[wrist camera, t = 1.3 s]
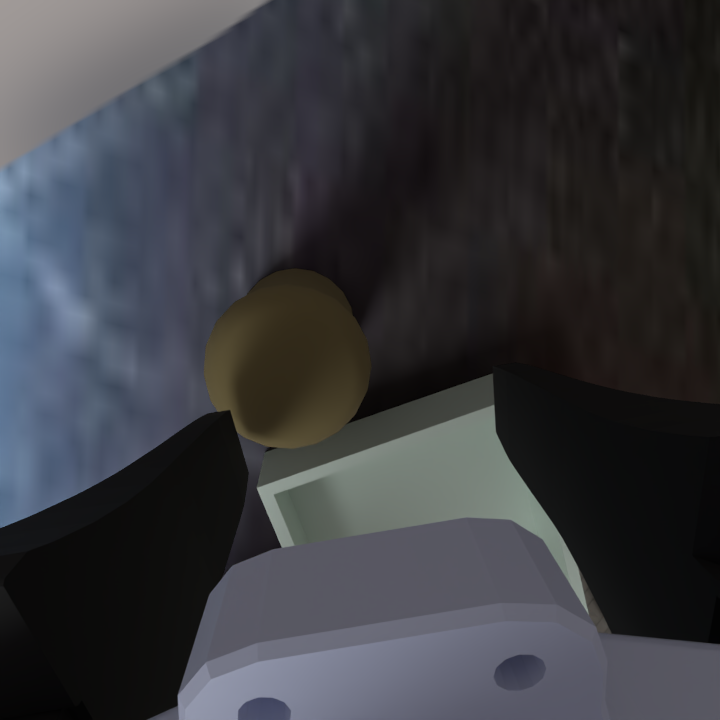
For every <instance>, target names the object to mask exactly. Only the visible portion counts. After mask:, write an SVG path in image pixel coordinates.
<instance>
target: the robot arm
mask: <svg viewBox="0 0 720 720" xmlns="http://www.w3.org/2000/svg"><path fill="white" fill-rule="evenodd" d="M492 368H493V388H494V407H495V427H496V434H497V436H498V438H499V440H500V442H501V444H502V446H503V449H504V451H505V452H506V454H507V456H508V458H509V460H510V462H511V463H512V465H513V466H514V468H515V469H516V471H517V472H518V474H519V475H520V477H521V478H522V480H523V481H524V483H525V484H526V485H527V487H528V488H529V490H530V491H531V493H532V494H533V495H534V497H535V498H536V500H537V501H538V503H539V504H540V505H541V507H542V508H543V510H544V511H545V513H546V514H547V516H548V517H549V518H550V520H551V521H552V523H553V524H554V526H555V527H556V529H557V531H558V532H559V534H560V535H561V537H562V539H563V540H564V542H565V544H566V546H567V548H568V550H569V551H570V553H571V555H572V557H573V559H574V561H575V562H576V564H577V566H578V568H579V570H580V572H581V573H582V575H583V577H584V579H585V581H586V583H587V585H588V587H589V589H590V591H591V593H592V595H593V597H594V599H595V601H596V603H597V605H598V607H599V608H600V610H601V612H602V614H603V616H604V619H605V621H606V623H607V625H608V627H609V629H610V631H611V633H612V634H609V633H599V632H598V631H597V628H596V626H595V624H594V623H593V621H592V620H591V618H590V616H589V615H588V613H587V611H586V610H585V608H584V606H583V605H582V603H581V601H580V600H579V598H578V597H577V595H576V593H575V592H574V590H573V588H572V587H571V585H570V583H569V582H568V580H567V578H566V577H565V575H564V574H563V572H562V570H561V569H560V567H559V565H558V564H557V562H556V560H555V559H554V557H553V555H552V554H551V552H550V551H549V549H548V547H547V546H546V544H545V542H544V541H543V539H541V538H539V537H538V536H536V535H535V534H533V533H531V532H530V531H528V530H527V529H525V528H523V527H522V526H520V525H518V524H517V523H515V522H514V521H512V520H508V519H488V518H468V517H466V518H460V519H453V520H447V521H441V522H435V523H429V524H423V525H417V526H411V527H405V528H399V529H393V530H387V531H381V532H375V533H369V534H363V535H357V536H350V537H344V538H338V539H332V540H326V541H320V542H314V543H308V544H302V545H296V546H290V547H284V548H278V549H273V550H270V551H268V552H265V553H263V554H260V555H258V556H255V557H252V558H250V559H247V560H245V561H242V562H240V563H237V564H235V565H232V567H231V568H230V569H229V570H228V572H227V573H226V574H225V575H224V577H223V578H222V576H223V573H224V570H225V566H226V563H227V560H228V557H229V553H230V550H231V547H232V544H233V540H234V537H235V534H236V531H237V527H238V524H239V521H240V517H241V514H242V510H243V507H244V502H245V496H246V490H247V482H248V474H249V472H248V469H247V466H246V462H245V459H244V455H243V452H242V448H241V445H240V442H239V438H238V435H237V431H236V428H235V425H234V421H233V418H232V414H231V411H230V410H226V411H220V412H214V413H208V414H206V415H204V416H202V417H200V418H198V419H197V420H195V421H194V422H192V423H191V424H189V425H188V426H186V427H185V428H183V429H182V430H180V431H179V432H177V433H176V434H175V435H173V436H172V437H170V438H169V439H168V440H166V441H165V442H163V443H162V444H160V445H159V446H158V447H156V448H155V449H153V450H152V451H150V452H148V453H147V454H145V455H144V456H142V457H141V458H139V459H138V460H136V461H135V462H133V463H132V464H130V465H129V466H127V467H125V468H124V469H122V470H121V471H119V472H117V473H116V474H114V475H112V476H110V477H109V478H107V479H105V480H103V481H102V482H100V483H98V484H96V485H94V486H92V487H91V488H89V489H87V490H85V491H83V492H81V493H79V494H77V495H75V496H73V497H71V498H69V499H67V500H64V501H62V502H60V503H58V504H56V505H54V506H51V507H49V508H47V509H45V510H43V511H41V512H39V513H36V514H34V515H32V516H30V517H27V518H25V519H22V520H20V521H17V522H15V523H12V524H10V525H8V526H5V527H2V528H0V720H720V404H710V403H700V402H690V401H680V400H672V399H665V398H658V397H652V396H646V395H641V394H635V393H629V392H624V391H620V390H615V389H611V388H607V387H603V386H599V385H595V384H591V383H587V382H584V381H580V380H577V379H573V378H570V377H567V376H563V375H560V374H557V373H553V372H550V371H547V370H544V369H540V368H537V367H533V366H530V365H526V364H521V363H510V364H504V365H498V366H492Z"/></svg>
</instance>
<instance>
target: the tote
mask: <svg viewBox="0 0 720 720" xmlns="http://www.w3.org/2000/svg"><path fill="white" fill-rule="evenodd" d="M257 490H258V492H259V495H260V497H261V499H262V502H263V504H264V506H265V509H266V511H267V514H268V516H269V518H270V521H271V523H272V525H273V528H274V530H275V533H276V535H277V537H278V540H279V542H280V544H281V547H282V548H284V547H290V546H296V545H302V544H308V543H314V542H320V541H326V540H332V539H338V538H344V537H350V536H357V535H363V534H369V533H375V532H381V531H387V530H393V529H399V528H405V527H411V526H417V525H423V524H429V523H435V522H441V521H447V520H453V519H460V518H466V517H468V518H488V519H508V520H512V521H514V522H515V523H517V524H518V525H520V526H522V527H523V528H525V529H527V530H528V531H530V532H531V533H533V534H535V535H536V536H538V537H539V538H541V539H543V541H544V542H545V544H546V546H547V547H548V549H549V551H550V552H551V554H552V555H553V557H554V559H555V560H556V562H557V564H558V565H559V567H560V569H561V570H562V572H563V574H564V575H565V577H566V578H567V580H568V582H569V583H570V585H571V587H572V588H573V590H574V592H575V593H576V595H577V597H578V598H579V600H580V601H581V603H582V605H583V606H584V608H585V610H586V611H587V613H588V608H587V604H586V600H585V595H584V591H583V587H582V582H581V578H580V574H579V569H578V566H577V564H576V562H575V561H574V559H573V557H572V555H571V553H570V551H569V550H568V548H567V546H566V544H565V542H564V540H563V539H562V537H561V535H560V534H559V532H558V531H557V529H556V527H555V526H554V524H553V523H552V521H551V520H550V518H549V517H548V516H547V514H546V513H545V511H544V510H543V508H542V507H541V505H540V504H539V503H538V501H537V500H536V498H535V497H534V495H533V494H532V493H531V491H530V490H529V488H528V487H527V485H526V484H525V483H524V481H523V480H522V478H521V477H520V475H519V474H518V472H517V471H516V469H515V468H514V466H513V465H512V463H511V462H510V460H509V458H508V456H507V454H506V452H505V451H504V449H503V446H502V444H501V442H500V440H499V438H498V436H497V434H496V427H495V407H494V388H493V373H492V374H489V375H486V376H484V377H481V378H478V379H475V380H472V381H469V382H466V383H463V384H461V385H458V386H455V387H452V388H449V389H446V390H443V391H440V392H437V393H435V394H432V395H429V396H426V397H423V398H420V399H417V400H414V401H411V402H409V403H406V404H403V405H400V406H397V407H394V408H391V409H388V410H386V411H383V412H380V413H377V414H374V415H371V416H368V417H365V418H362V419H360V420H357V421H354V422H351V423H348V424H346V425H345V426H344V427H343V428H342V429H341V430H340V431H339V432H338V433H336V434H334V435H332V436H330V437H328V438H327V439H325V440H323V441H321V442H319V443H317V444H314V445H309V446H304V447H299V448H294V449H288V448H276V449H273V450H270V451H267V452H265V455H264V459H263V463H262V468H261V472H260V476H259V480H258V485H257ZM588 615H589V613H588Z"/></svg>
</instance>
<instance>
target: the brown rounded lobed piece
mask: <svg viewBox="0 0 720 720" xmlns="http://www.w3.org/2000/svg"><path fill="white" fill-rule="evenodd" d="M370 371H371V360H370V354H369V348H368V342H367V339H366V337H365V335H364V333H363V332H362V330H361V328H360V326H359V324H358V322H357V320H356V318H355V317H354V316H353V314H352V308H351V306H350V304H349V302H348V300H347V299H346V297H345V295H344V293H343V291H342V290H340V289H339V288H338V287H337V286H336V285H335V284H334V283H333V282H332V281H331V280H330V279H329V278H327V277H324V276H322V275H320V274H318V273H316V272H314V271H310V270H304V269H297V268H293V269H287V270H282V271H276V272H274V273H272V274H271V275H269V276H267V277H265V278H263V279H261V280H260V281H259V282H258V283H257V284H256V285H255V286H254V287H253V288H252V289H251V290H250V292H249V293H248V294H247V296H245V297H243V298H241V299H239V300H237V301H236V302H234V303H233V304H232V305H231V306H230V308H229V309H228V310H227V311H226V312H225V313H224V314H223V315H222V316H221V317H220V318H219V319H218V321H217V322H216V324H215V326H214V328H213V331H212V333H211V335H210V338H209V340H208V342H207V344H206V351H205V364H204V377H205V381H206V385H207V388H208V392H209V396H210V400H211V402H212V403H213V405H214V406H215V408H216V409H217V411H218V412H220V411H226V410H230V411H231V414H232V418H233V421H234V425H235V428H236V431H237V432H238V433H239V434H241V435H242V436H243V437H244V438H247V439H249V440H252V441H254V442H257V443H259V444H262V445H264V446H267V447H277V448H288V449H294V448H299V447H304V446H309V445H314V444H317V443H319V442H321V441H323V440H325V439H327V438H328V437H330V436H332V435H334V434H336V433H338V432H339V431H340V430H341V429H342V428H343V427H344V426H345V425H346V424H347V423H348V422H349V421H350V420H351V419H352V418H353V417H354V416H355V414H356V412H357V410H358V408H359V406H360V404H361V402H362V400H363V398H364V396H365V394H366V392H367V390H368V385H369V378H370Z"/></svg>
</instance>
